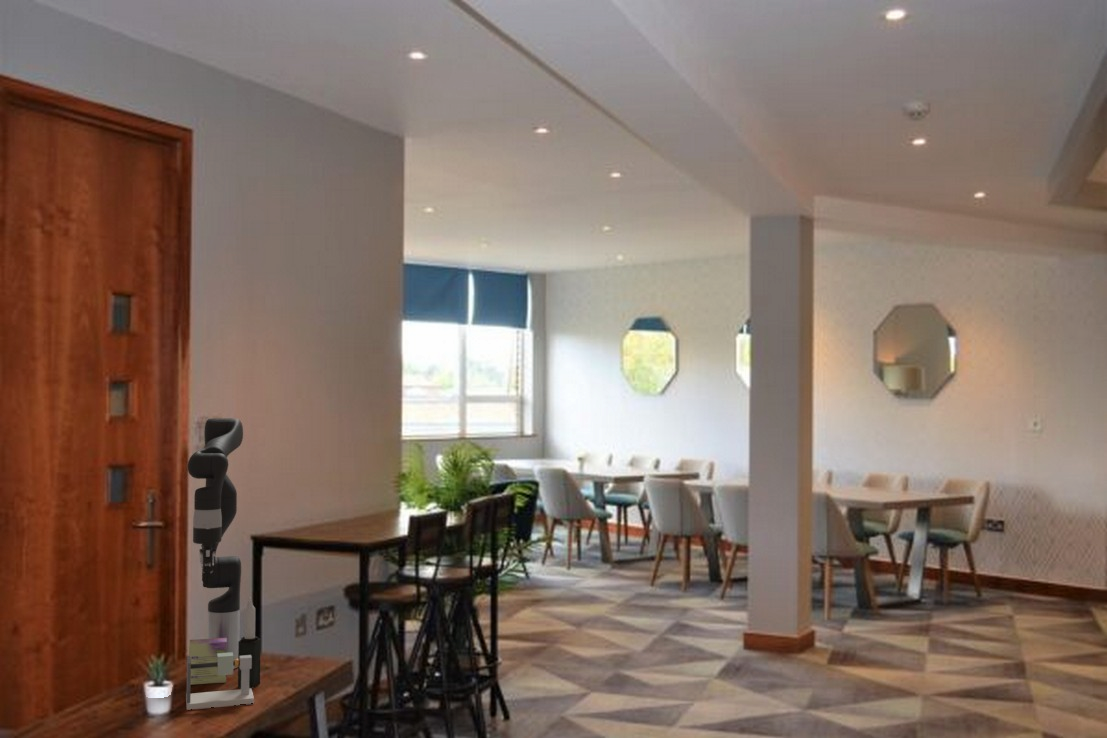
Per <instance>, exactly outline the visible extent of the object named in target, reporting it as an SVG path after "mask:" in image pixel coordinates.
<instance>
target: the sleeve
mask: <svg viewBox="0 0 1107 738" xmlns="http://www.w3.org/2000/svg"><path fill="white" fill-rule="evenodd" d="M217 662H218V667H217V675H218V676H220V675H226V676H231V675H234V669H233V652H229V653H217Z"/></svg>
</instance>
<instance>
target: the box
mask: <svg viewBox="0 0 1107 738" xmlns="http://www.w3.org/2000/svg"><path fill="white" fill-rule="evenodd" d="M188 645H189V646H188V656H190V658H191V664H200V663H213V662H217V653H227V638H214V639H208V638H202V639H201V638H199V639H189V644H188ZM221 683H223V684H224V683H225V684H226V683H227V675H220V676H218V675H217V667H208V668H196V669H191V685H192V686H193V685H206V684H221Z"/></svg>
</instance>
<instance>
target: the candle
mask: <svg viewBox="0 0 1107 738" xmlns="http://www.w3.org/2000/svg"><path fill="white" fill-rule="evenodd" d="M253 604H254V603H253V600H252V597H251V596H249V597H248V602H247V604H246V607H245V608H244V624H243V625H244V626H243V627H244V629H243V632H244V635H243V637H240V639H239V642H238V659H239V656H244V655H251V657H252V669H249V688H251V689H253V688H252V687H254V688H256V687H257V686H259V685H258V684H260V685H261V647H262V646H261V638H259V637H258V636H256V607H255V606H254V605H253ZM237 687H238V688H241V670H240V668H239V667H237Z"/></svg>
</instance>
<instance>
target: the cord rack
mask: <svg viewBox="0 0 1107 738" xmlns="http://www.w3.org/2000/svg"><path fill="white" fill-rule="evenodd" d="M233 665H235V667H237V668H238V667H239V668H240V670H241V687H240V689H239V688H238V689H228V690H218V691H217V690H216V691H205V692H195V693H193V692H192V693H191V687H192V686H191V669H196V668H208V667H218V662H213V663H200V664H191V658H190V656H189V655H187V656H186V694H185V702H186V703H185V704H186V711H188V710H190V711H191V709H192V710H202V709H212V708H211V707H214V708H222V707H223V708H224V707H233V706H234V705H236V706H241V705H240V704H246V705H254V704H255V697H254V693H253V690H252V689H253V688H249V669H252V657H251V655H244V656H239V659H235V661H233ZM251 703H253V704H251ZM234 707H235V706H234Z"/></svg>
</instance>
